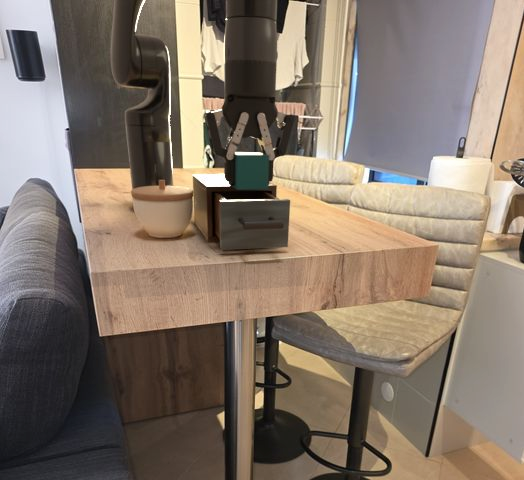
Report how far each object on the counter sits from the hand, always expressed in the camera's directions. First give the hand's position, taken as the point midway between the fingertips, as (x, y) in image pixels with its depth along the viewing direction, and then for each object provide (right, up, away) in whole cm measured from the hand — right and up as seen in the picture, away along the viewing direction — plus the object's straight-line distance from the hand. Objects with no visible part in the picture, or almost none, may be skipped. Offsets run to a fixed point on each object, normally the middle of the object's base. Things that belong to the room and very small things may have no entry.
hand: (248, 184), depth 73 cm
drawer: (0, -8, +4) cm, 9 cm away
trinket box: (-16, -5, +11) cm, 20 cm away
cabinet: (-4, -3, +15) cm, 16 cm away
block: (0, 0, 0) cm, 0 cm away
